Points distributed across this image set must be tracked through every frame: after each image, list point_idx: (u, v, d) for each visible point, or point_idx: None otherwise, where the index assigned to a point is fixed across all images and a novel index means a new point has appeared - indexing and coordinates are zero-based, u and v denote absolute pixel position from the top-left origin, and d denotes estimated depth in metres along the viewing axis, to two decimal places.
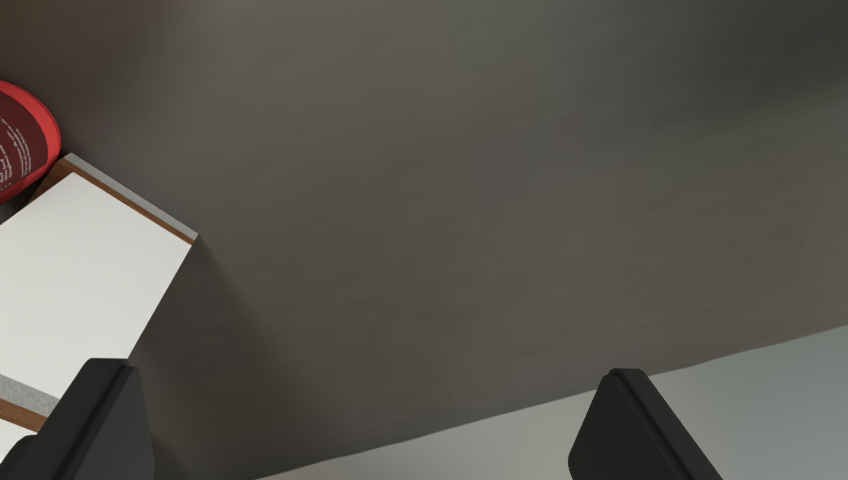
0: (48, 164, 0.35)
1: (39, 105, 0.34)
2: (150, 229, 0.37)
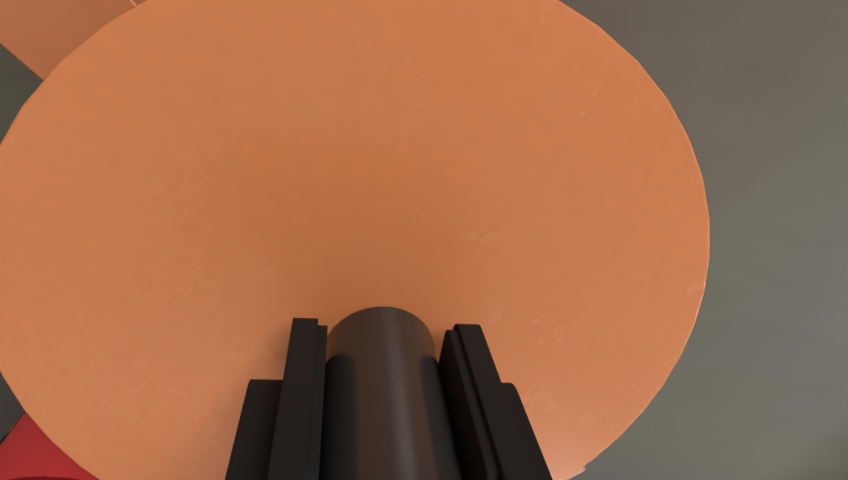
0: None
1: None
2: None
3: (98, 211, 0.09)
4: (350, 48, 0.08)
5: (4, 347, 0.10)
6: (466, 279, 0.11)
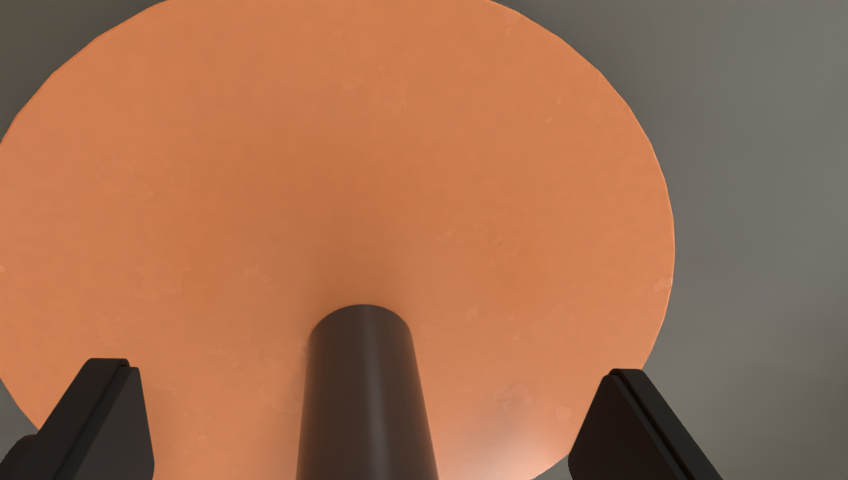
0: None
1: None
2: None
3: (89, 215, 0.10)
4: (326, 60, 0.09)
5: None
6: (443, 277, 0.12)
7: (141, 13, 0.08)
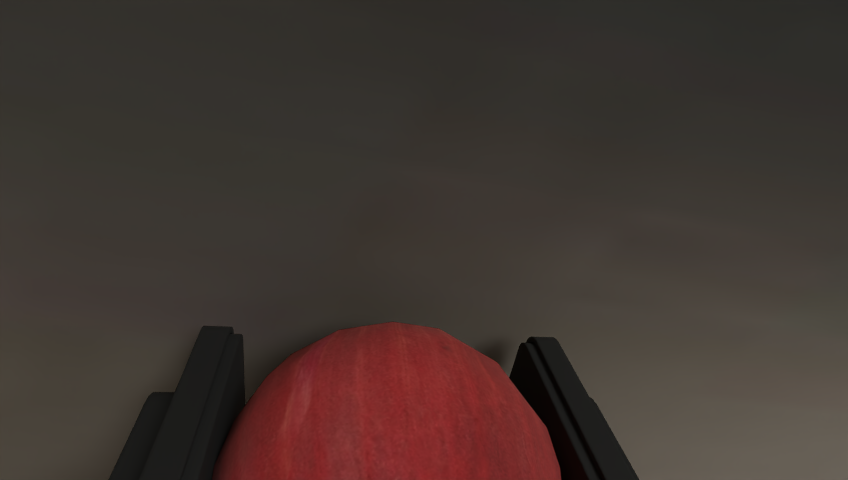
0: None
1: None
2: None
3: None
4: None
5: None
6: None
7: None
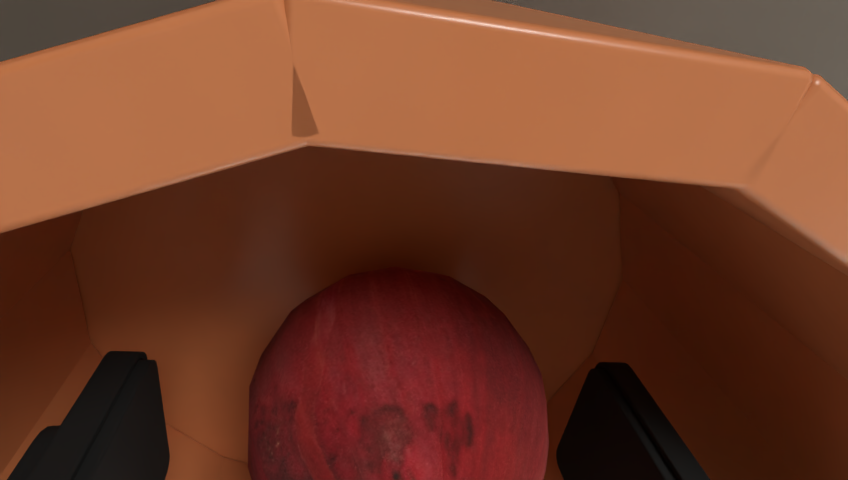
0: None
1: None
2: None
3: None
4: None
5: None
6: None
7: None
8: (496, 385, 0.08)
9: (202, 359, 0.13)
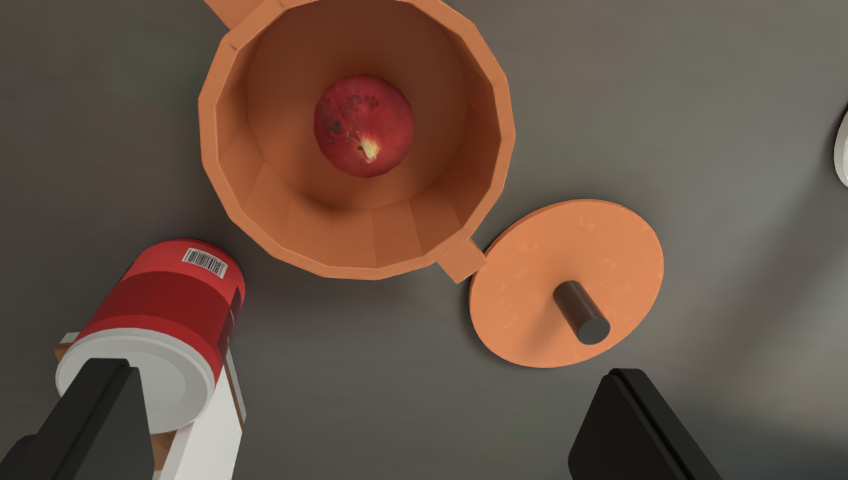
0: None
1: None
2: (232, 417, 0.39)
3: (512, 256, 0.38)
4: (578, 219, 0.37)
5: (475, 290, 0.39)
6: (595, 272, 0.40)
7: (541, 212, 0.36)
8: (388, 97, 0.26)
9: (290, 132, 0.32)
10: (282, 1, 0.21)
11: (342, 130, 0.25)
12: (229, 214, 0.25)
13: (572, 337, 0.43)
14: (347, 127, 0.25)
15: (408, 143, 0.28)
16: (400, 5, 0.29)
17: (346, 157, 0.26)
